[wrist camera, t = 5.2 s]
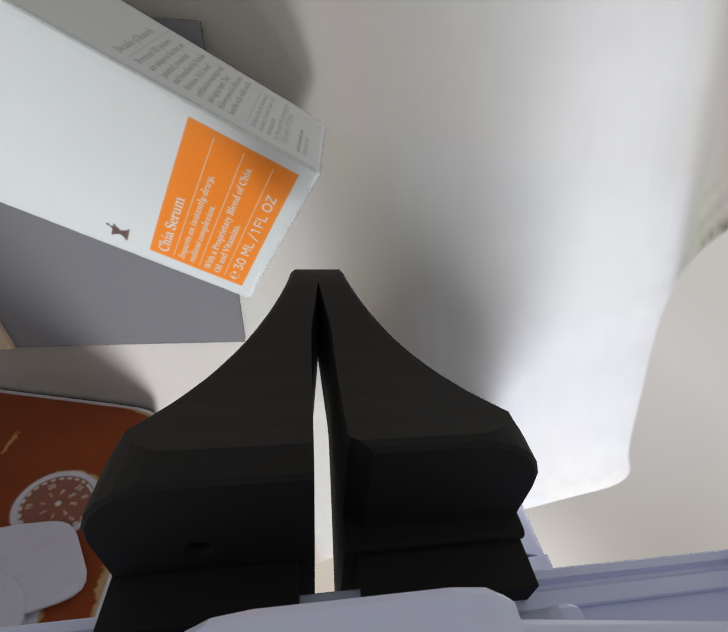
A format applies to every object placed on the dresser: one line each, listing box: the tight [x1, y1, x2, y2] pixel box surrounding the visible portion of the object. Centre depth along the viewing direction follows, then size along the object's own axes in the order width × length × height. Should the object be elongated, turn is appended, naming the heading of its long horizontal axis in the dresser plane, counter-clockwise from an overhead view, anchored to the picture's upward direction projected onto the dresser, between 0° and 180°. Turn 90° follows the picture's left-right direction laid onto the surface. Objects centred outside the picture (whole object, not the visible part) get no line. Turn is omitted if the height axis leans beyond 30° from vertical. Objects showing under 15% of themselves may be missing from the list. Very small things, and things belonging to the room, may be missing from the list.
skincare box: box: [0, 0, 325, 297], centre depth 13 cm, size 6×4×12 cm
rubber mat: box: [0, 17, 245, 350], centre depth 17 cm, size 14×12×1 cm
